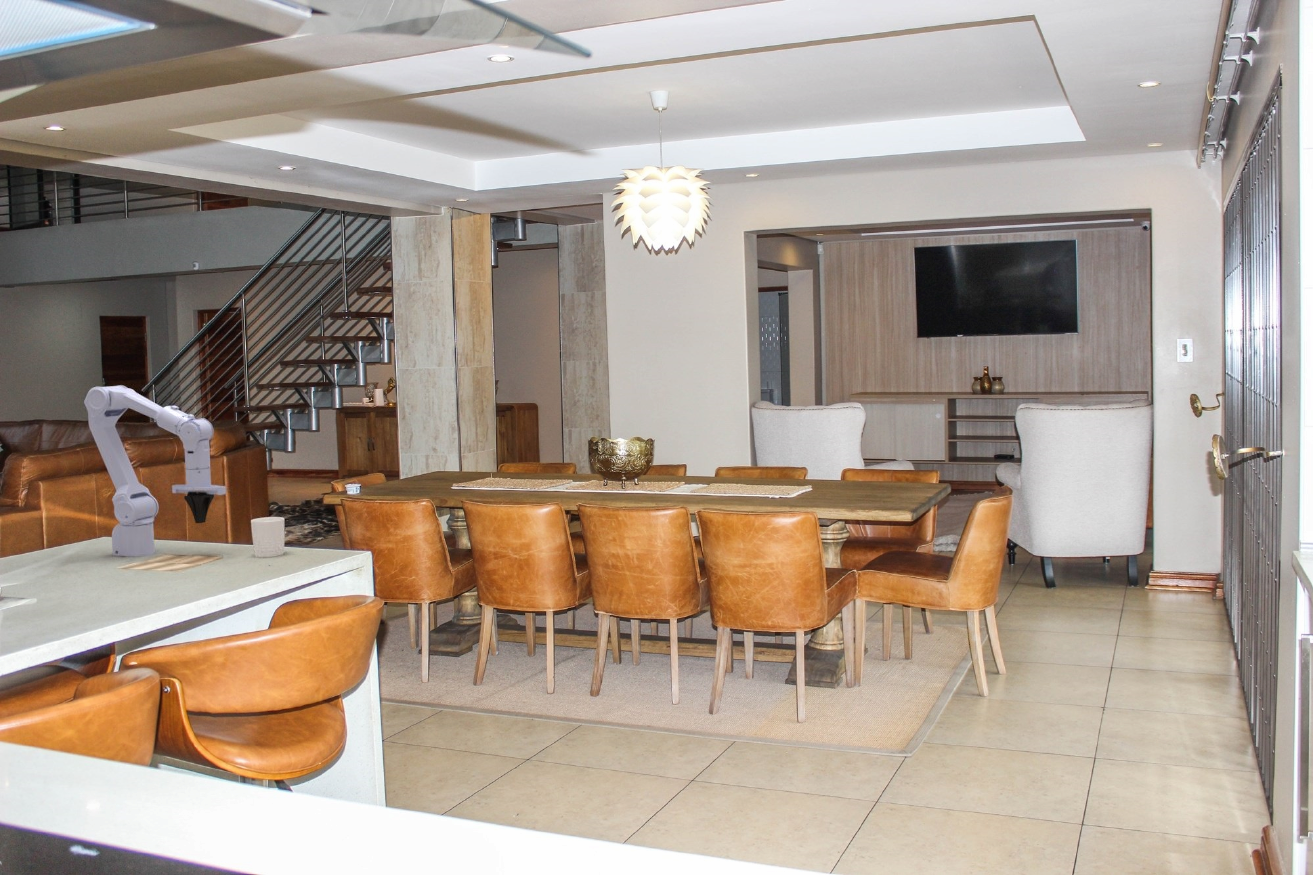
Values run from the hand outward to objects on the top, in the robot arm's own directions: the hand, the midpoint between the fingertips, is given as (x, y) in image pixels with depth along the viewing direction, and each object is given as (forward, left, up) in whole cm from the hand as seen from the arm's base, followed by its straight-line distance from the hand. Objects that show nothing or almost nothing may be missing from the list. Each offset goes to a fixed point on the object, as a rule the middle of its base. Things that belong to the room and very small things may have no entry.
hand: (200, 522), depth 282 cm
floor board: (-1, -15, -9) cm, 17 cm away
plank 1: (-5, -6, -9) cm, 12 cm away
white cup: (+16, +4, -10) cm, 20 cm away
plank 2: (+4, -6, -9) cm, 12 cm away
